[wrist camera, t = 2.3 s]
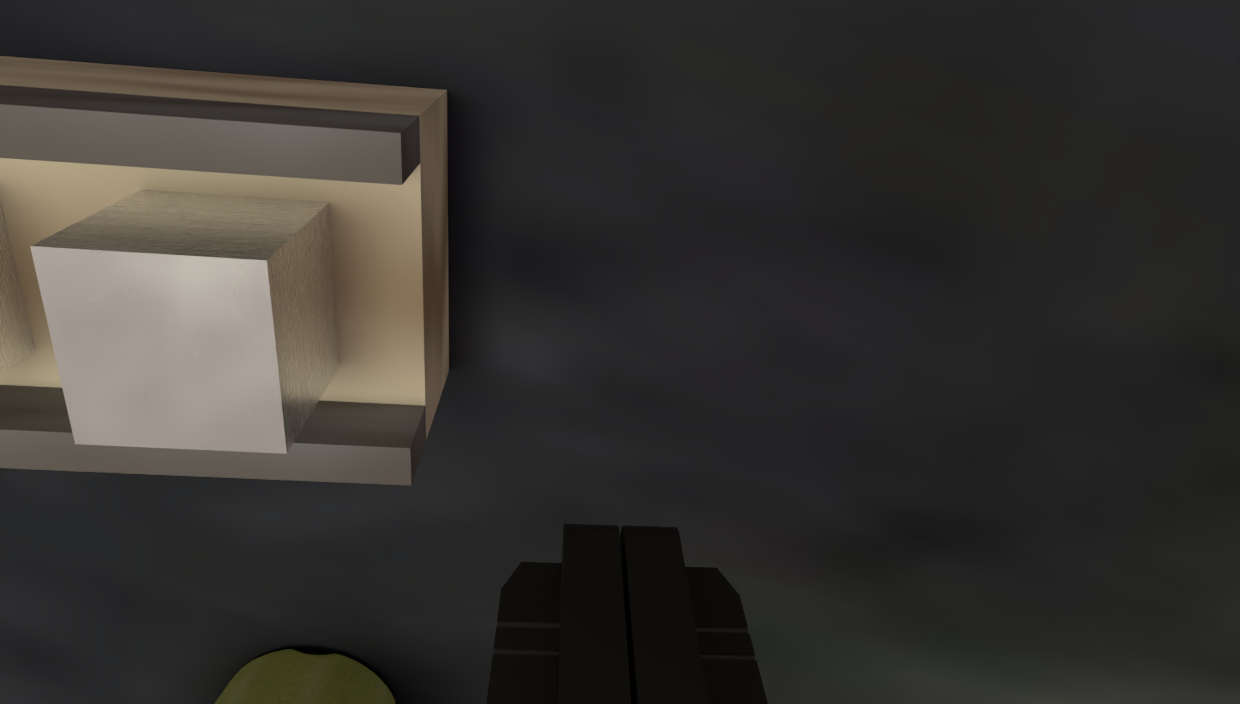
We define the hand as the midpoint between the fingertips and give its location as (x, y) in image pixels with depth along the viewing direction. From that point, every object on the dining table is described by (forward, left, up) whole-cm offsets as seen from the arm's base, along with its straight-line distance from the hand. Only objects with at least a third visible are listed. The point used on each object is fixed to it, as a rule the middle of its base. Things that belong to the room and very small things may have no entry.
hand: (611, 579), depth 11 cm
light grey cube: (0, -8, -10) cm, 12 cm away
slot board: (0, -11, -14) cm, 17 cm away
